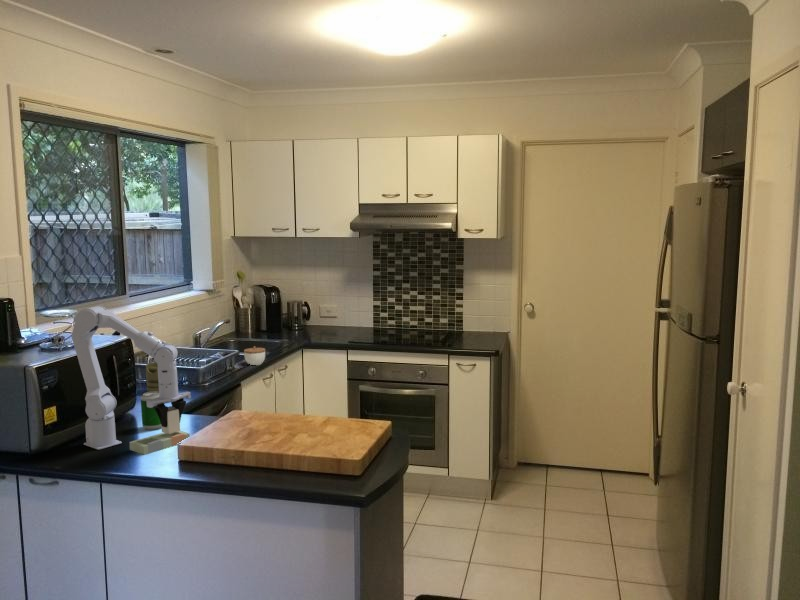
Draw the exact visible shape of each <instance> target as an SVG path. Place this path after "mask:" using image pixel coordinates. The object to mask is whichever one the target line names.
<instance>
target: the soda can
mask: <svg viewBox="0 0 800 600" xmlns="http://www.w3.org/2000/svg"><path fill="white" fill-rule="evenodd" d="M157 397H159V392H156V391H155V392H147V391H146V392H144V393H142V395H141V397H140V409H141V421H142V422H141V425H142V427H143V428H144V429H145V430H146V429H147V431H154V429H156V430H160V429H162V426H161V422H160V419H159V417H158V415H157V413H156V411H155V410H154V409H153V407H152V408H149V407H147V402H146V401H149V400H152V399H155V398H157ZM159 428H160V429H159Z"/></svg>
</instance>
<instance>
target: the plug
mask: <svg viewBox="0 0 800 600" xmlns="http://www.w3.org/2000/svg"><path fill="white" fill-rule="evenodd" d="M167 407H168V412H167V427H162V428H161V433H167V434H171V433H174V432H178V431H181V424H180V423H181V420H180V421H179V409H175V407H172V405H169V406H167ZM161 426H162V425H161Z"/></svg>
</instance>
